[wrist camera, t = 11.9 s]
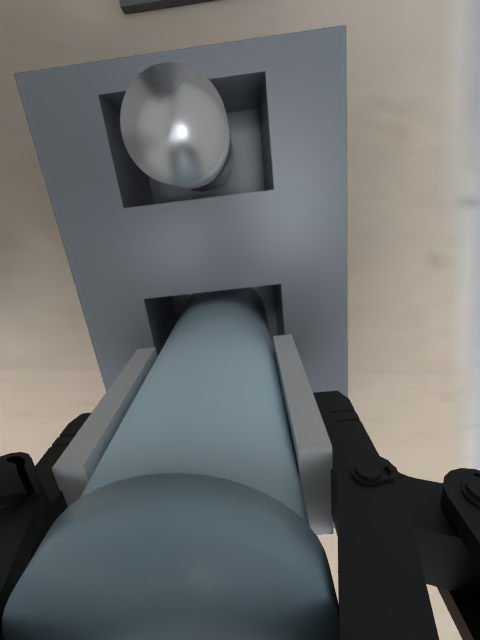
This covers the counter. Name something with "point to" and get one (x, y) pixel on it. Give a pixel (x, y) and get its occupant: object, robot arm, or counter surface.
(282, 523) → the cartridge
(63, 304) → the counter surface
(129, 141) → the plunger
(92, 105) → the housing
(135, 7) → the mat
